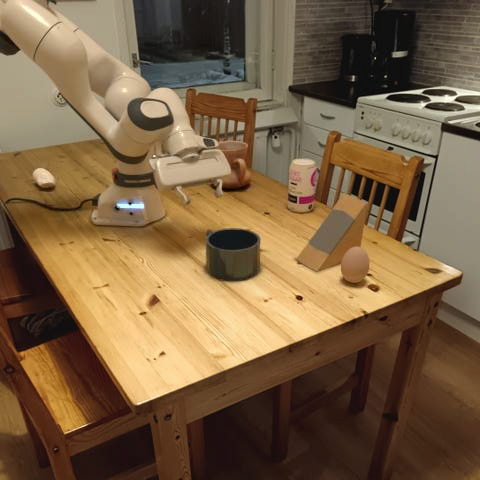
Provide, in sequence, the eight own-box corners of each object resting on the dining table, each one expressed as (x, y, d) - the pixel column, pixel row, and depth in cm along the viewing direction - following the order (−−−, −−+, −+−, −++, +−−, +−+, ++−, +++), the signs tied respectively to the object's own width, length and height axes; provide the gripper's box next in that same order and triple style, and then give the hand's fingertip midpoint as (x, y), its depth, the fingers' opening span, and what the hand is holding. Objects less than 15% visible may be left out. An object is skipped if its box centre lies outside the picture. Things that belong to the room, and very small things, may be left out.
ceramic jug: (202, 181, 183) (201, 141, 175) (238, 176, 188) (238, 136, 181) (223, 197, 170) (222, 154, 162) (261, 190, 175) (262, 149, 167)
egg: (348, 290, 118) (353, 255, 113) (333, 278, 123) (337, 244, 118) (372, 285, 120) (378, 250, 115) (356, 273, 125) (361, 239, 120)
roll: (42, 194, 172) (39, 178, 169) (34, 184, 180) (30, 168, 177) (60, 191, 175) (57, 175, 171) (51, 181, 183) (47, 166, 180)
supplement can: (315, 205, 163) (319, 159, 155) (309, 215, 157) (313, 167, 148) (291, 202, 165) (293, 156, 157) (284, 211, 159) (287, 164, 150)
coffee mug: (270, 270, 126) (271, 240, 122) (228, 286, 119) (228, 256, 115) (228, 246, 138) (227, 218, 133) (187, 260, 131) (185, 231, 126)
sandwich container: (294, 259, 131) (297, 204, 123) (337, 245, 139) (343, 192, 130) (316, 272, 126) (321, 215, 117) (359, 256, 133) (367, 202, 124)
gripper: (149, 149, 119) (170, 201, 117) (222, 139, 129) (242, 187, 127) (142, 163, 124) (162, 213, 123) (213, 152, 134) (232, 199, 133)
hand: (204, 200), depth 125 cm, fingers open, 8 cm apart
